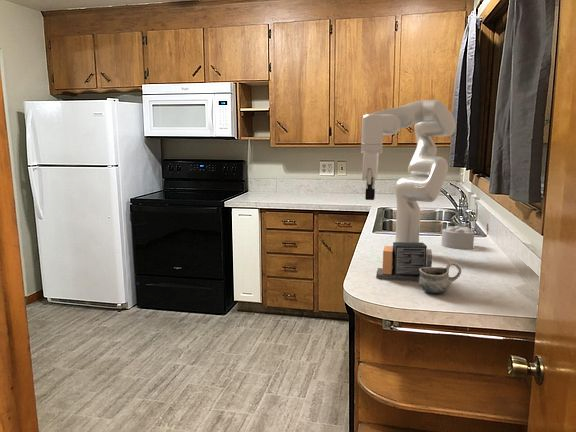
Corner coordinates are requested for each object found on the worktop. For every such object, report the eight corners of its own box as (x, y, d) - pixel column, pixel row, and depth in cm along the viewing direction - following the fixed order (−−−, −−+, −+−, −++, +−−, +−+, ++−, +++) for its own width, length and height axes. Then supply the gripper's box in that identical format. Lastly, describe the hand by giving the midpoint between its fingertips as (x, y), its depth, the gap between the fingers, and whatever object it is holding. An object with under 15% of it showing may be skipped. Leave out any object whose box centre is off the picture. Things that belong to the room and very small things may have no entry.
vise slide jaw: (383, 267, 171) (384, 245, 170) (392, 268, 170) (393, 246, 169) (382, 273, 163) (383, 251, 162) (391, 274, 163) (392, 251, 161)
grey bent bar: (377, 272, 172) (378, 246, 170) (429, 275, 168) (431, 249, 166) (376, 278, 164) (377, 251, 163) (430, 282, 160) (432, 255, 158)
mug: (415, 286, 156) (416, 256, 154) (454, 287, 155) (456, 257, 153) (421, 296, 147) (423, 264, 145) (463, 297, 146) (465, 265, 144)
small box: (421, 270, 168) (423, 241, 167) (426, 276, 162) (427, 246, 160) (391, 270, 169) (392, 241, 167) (394, 275, 162) (395, 245, 161)
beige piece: (474, 250, 206) (475, 230, 204) (442, 248, 209) (443, 228, 207) (470, 244, 216) (471, 225, 214) (440, 243, 219) (441, 224, 217)
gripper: (363, 148, 181) (361, 196, 184) (359, 149, 166) (357, 202, 170) (383, 148, 179) (381, 197, 182) (380, 150, 165) (378, 202, 168)
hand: (369, 199), depth 176 cm, fingers closed
